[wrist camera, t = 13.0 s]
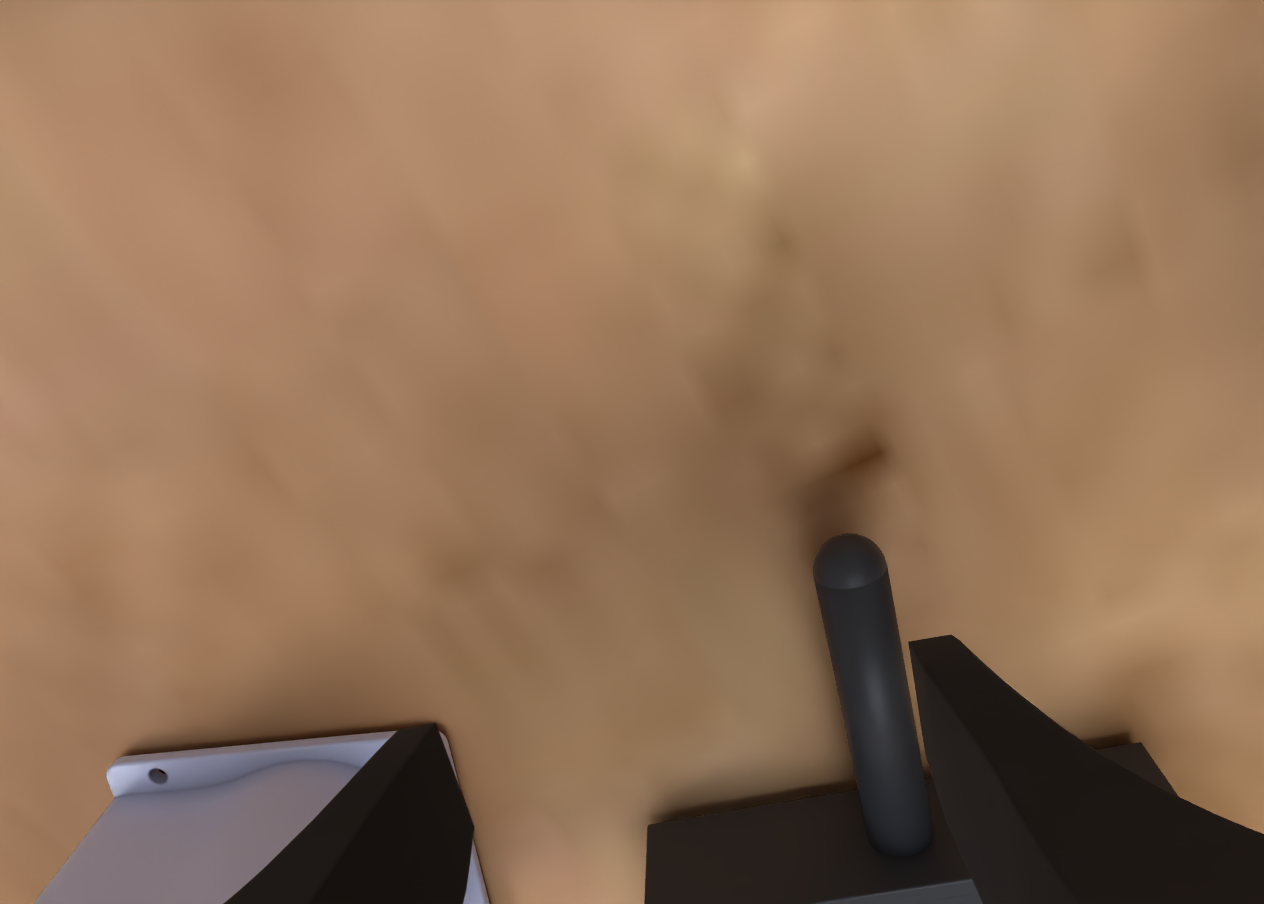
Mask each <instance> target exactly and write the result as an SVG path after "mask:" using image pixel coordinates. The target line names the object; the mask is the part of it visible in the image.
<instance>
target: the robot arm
mask: <svg viewBox="0 0 1264 904" xmlns="http://www.w3.org/2000/svg"><path fill="white" fill-rule="evenodd" d="M908 643H909V650H910V656H911V663H912V669H913V676H914V682H915V689H916V695H917V702H918V708H919V715H920V721H921V728H922V735H923V741H924V748H925V754H926V758H927V761H928V765H929V768H930V771H931V775H932V778H933V781H934V784H935V788H936V791H937V794H938V797H939V800H940V803H941V807H942V810H943V813H944V816H945V819H946V821H947V824H948V826H949V828H950V831H951V833H952V835H953V837H954V840H955V842H956V844H957V847H958V849H959V851H960V853H961V856H962V858H963V860H964V862H965V865H966V867H967V869H968V871H969V874H970V876H971V878H972V880H973V883H974V885H975V887H976V889H977V892H978V894H979V896H980V898H981V901H982V903H983V904H1264V834H1262V833H1259V832H1257V831H1254V830H1251V829H1249V828H1246V827H1244V826H1242V825H1239V824H1237V823H1234V822H1232V821H1230V820H1227V819H1225V818H1223V817H1220V816H1218V815H1216V814H1213V813H1211V812H1209V811H1207V810H1205V809H1203V808H1201V807H1199V806H1197V805H1194V804H1192V803H1190V802H1188V801H1186V800H1184V799H1182V798H1180V797H1178V796H1175V795H1173V794H1171V793H1169V792H1167V791H1165V790H1163V789H1162V788H1160V787H1158V786H1156V785H1154V784H1152V783H1150V782H1148V781H1146V780H1145V779H1143V778H1141V777H1139V776H1138V775H1136V774H1134V773H1132V772H1131V771H1129V770H1127V769H1125V768H1124V767H1122V766H1120V765H1118V764H1117V763H1115V762H1113V761H1112V760H1110V759H1108V758H1107V757H1105V756H1104V755H1102V754H1101V753H1099V752H1098V751H1096V750H1094V749H1093V748H1091V747H1090V746H1088V745H1087V744H1086V743H1084V742H1083V741H1081V740H1080V739H1078V738H1077V737H1076V736H1074V735H1073V734H1071V733H1070V732H1068V731H1067V730H1065V729H1064V728H1063V727H1061V726H1060V725H1059V724H1057V723H1056V722H1055V721H1053V720H1052V719H1051V718H1049V717H1048V716H1047V715H1045V714H1044V713H1043V712H1042V711H1040V710H1039V709H1038V708H1036V707H1035V706H1034V705H1033V704H1031V703H1030V702H1029V701H1028V700H1026V699H1025V698H1024V697H1023V696H1021V695H1020V694H1019V693H1018V692H1016V691H1015V690H1014V689H1013V688H1012V687H1010V686H1009V685H1008V684H1007V683H1006V682H1004V681H1003V680H1002V679H1001V678H1000V677H999V676H998V675H996V674H995V673H994V672H993V671H992V670H991V669H990V668H989V667H987V666H986V665H985V664H984V663H983V662H982V661H981V660H980V659H979V658H978V657H977V656H975V655H974V654H973V653H972V652H971V651H970V650H969V649H968V648H967V647H966V646H965V645H964V644H963V643H962V642H961V641H960V640H958V639H957V638H955V637H954V636H953V635H946V636H940V637H934V638H928V639H922V640H917V641H911V642H908ZM158 769H161V770H163V771H164V772H165V773H166V774H163V773H161V772H159V771H158ZM106 777H107V781H108V783H109V786H110V788H111V791H112V793H113V795H114V799H113V801H112V802H111V803H110V805H109V806H108V807H107V808H106V810H105V811H104V812H103V814H102V815H101V816H100V818H99V819H98V820H97V821H96V823H95V824H94V825H93V827H92V828H91V829H90V831H89V832H88V833H87V834H86V836H85V837H84V838H83V840H82V841H81V842H80V844H79V845H78V846H77V847H76V849H75V850H74V851H73V853H72V854H71V855H70V857H69V858H68V859H67V860H66V862H65V863H64V864H63V866H62V867H61V868H60V870H59V871H58V872H57V873H56V875H55V876H54V877H53V879H52V880H51V881H50V883H49V884H48V885H47V886H46V888H45V889H44V890H43V892H42V893H41V894H40V896H39V897H38V898H37V899H36V901H35V902H34V903H33V904H490V903H489V899H488V895H487V892H486V888H485V884H484V880H483V876H482V872H481V868H480V864H479V860H478V857H477V853H476V849H475V845H474V841H473V833H474V825H473V822H472V820H471V817H470V814H469V811H468V809H467V806H466V803H465V800H464V798H463V795H462V792H461V790H460V786H459V783H458V779H457V775H456V771H455V767H454V763H453V759H452V755H451V751H450V748H449V744H448V741H447V739H446V737H445V735H444V734H442V733H441V732H440V731H439V730H438V727H437V724H436V723H434V724H428V725H422V726H416V727H411V728H405V729H399V730H398V731H387V732H376V733H366V734H355V735H344V736H334V737H323V738H313V739H302V740H291V741H281V742H270V743H259V744H249V745H238V746H227V747H217V748H206V749H196V750H185V751H174V752H164V753H153V754H142V755H132V756H123V757H120V758H117V759H116V760H115V761H114V762H113V763H112V764H111V766H110V767H109V768H108V770H107V773H106Z"/></svg>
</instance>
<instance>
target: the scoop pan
mask: <svg viewBox="0 0 1264 904" xmlns="http://www.w3.org/2000/svg"><path fill="white" fill-rule="evenodd" d="M813 573H814V580H815V585H816V590H817V594H818V599H819V604H820V609H821V614H822V618H823V623H824V628H825V633H826V638H827V643H828V647H829V652H830V657H831V662H832V667H833V671H834V676H835V681H836V686H837V691H838V695H839V700H840V705H841V710H842V715H843V720H844V724H845V729H846V734H847V739H848V744H849V748H850V753H851V758H852V763H853V768H854V772H855V777H856V782H857V787H858V790H853V791H847V792H841V793H835V794H829V795H823V796H817V797H811V798H805V799H799V800H793V801H787V802H782V803H776V804H770V805H764V806H758V807H752V808H746V809H740V810H734V811H728V812H722V813H716V814H710V815H704V816H698V817H692V818H686V819H680V820H674V821H668V822H662V823H657V824H651V825H648V827H647V853H646V879H645V904H983V903H982V901H981V898H980V896H979V894H978V892H977V889H976V887H975V885H974V883H973V880H972V878H971V876H970V874H969V871H968V869H967V867H966V865H965V862H964V860H963V858H962V856H961V853H960V851H959V849H958V847H957V844H956V842H955V840H954V837H953V835H952V833H951V831H950V828H949V826H948V824H947V821H946V819H945V816H944V813H943V810H942V807H941V803H940V800H939V797H938V794H937V791H936V788H935V784H934V781H933V778H932V777H930V778H924V772H923V766H922V761H921V755H920V749H919V744H918V738H917V732H916V727H915V721H914V715H913V710H912V704H911V698H910V693H909V687H908V681H907V676H906V670H905V665H904V659H903V653H902V648H901V642H900V636H899V631H898V625H897V619H896V614H895V608H894V602H893V597H892V591H891V585H890V580H889V574H888V568H887V564H886V560H885V557H884V555H883V553H882V551H881V550H880V548H879V547H878V546H877V545H876V544H875V543H874V542H873V541H871V540H870V539H868V538H866V537H864V536H861V535H858V534H841V535H837V536H835V537H832V538H831V539H829V540H828V541H826V542H825V543H824V544H823V545H822V546H821V548H820V549H819V550H818V552H817V554H816V557H815V559H814V564H813ZM1096 751H1098V752H1099V753H1101V754H1102V755H1104V756H1105V757H1107V758H1108V759H1110V760H1112V761H1113V762H1115V763H1117V764H1118V765H1120V766H1122V767H1124V768H1125V769H1127V770H1129V771H1131V772H1132V773H1134V774H1136V775H1138V776H1139V777H1141V778H1143V779H1145V780H1146V781H1148V782H1150V783H1152V784H1154V785H1156V786H1158V787H1160V788H1162V789H1163V790H1165V791H1167V792H1169V793H1171V794H1173V795H1175V796H1178V795H1177V794H1176V792H1175V791H1174V789H1173V788H1172V786H1171V785H1170V784H1169V782H1168V781H1167V779H1166V778H1165V776H1164V775H1163V773H1162V772H1161V771H1160V769H1159V768H1158V766H1157V765H1156V763H1155V762H1154V760H1153V759H1152V758H1151V756H1150V755H1149V753H1148V752H1147V750H1146V749H1145V747H1144V746H1143V744H1142V743H1140V742H1139V743H1133V744H1127V745H1121V746H1115V747H1109V748H1103V749H1097V750H1096Z"/></svg>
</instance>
